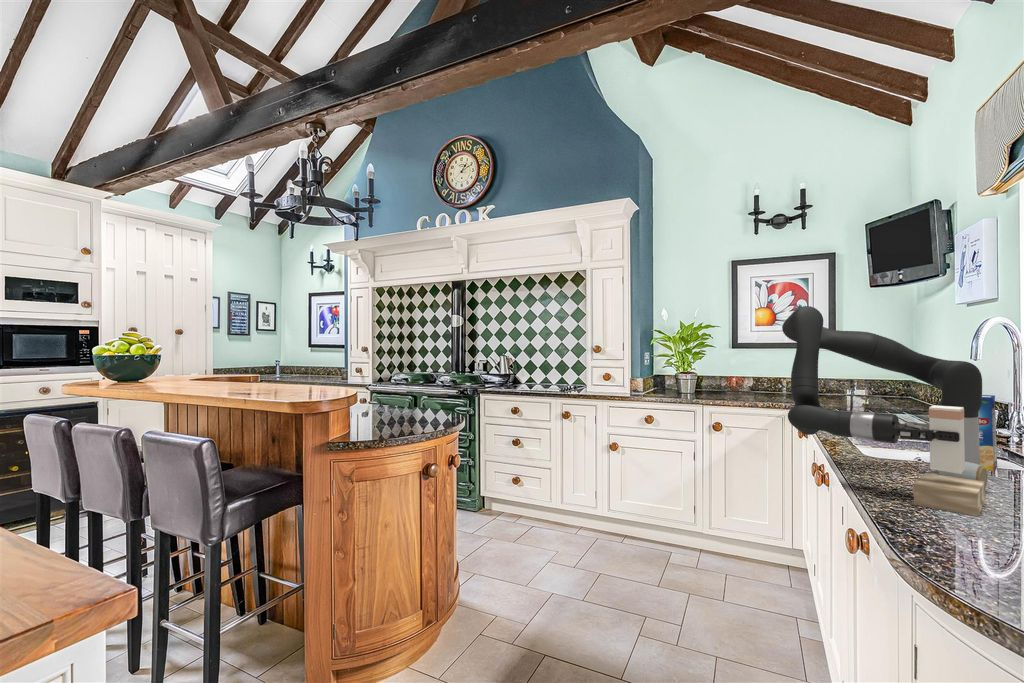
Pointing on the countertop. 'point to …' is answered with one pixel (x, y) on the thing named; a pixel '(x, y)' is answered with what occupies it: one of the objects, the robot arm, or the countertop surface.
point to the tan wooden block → (950, 493)
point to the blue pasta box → (987, 433)
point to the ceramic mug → (970, 473)
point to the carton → (947, 452)
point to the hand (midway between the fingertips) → (960, 435)
